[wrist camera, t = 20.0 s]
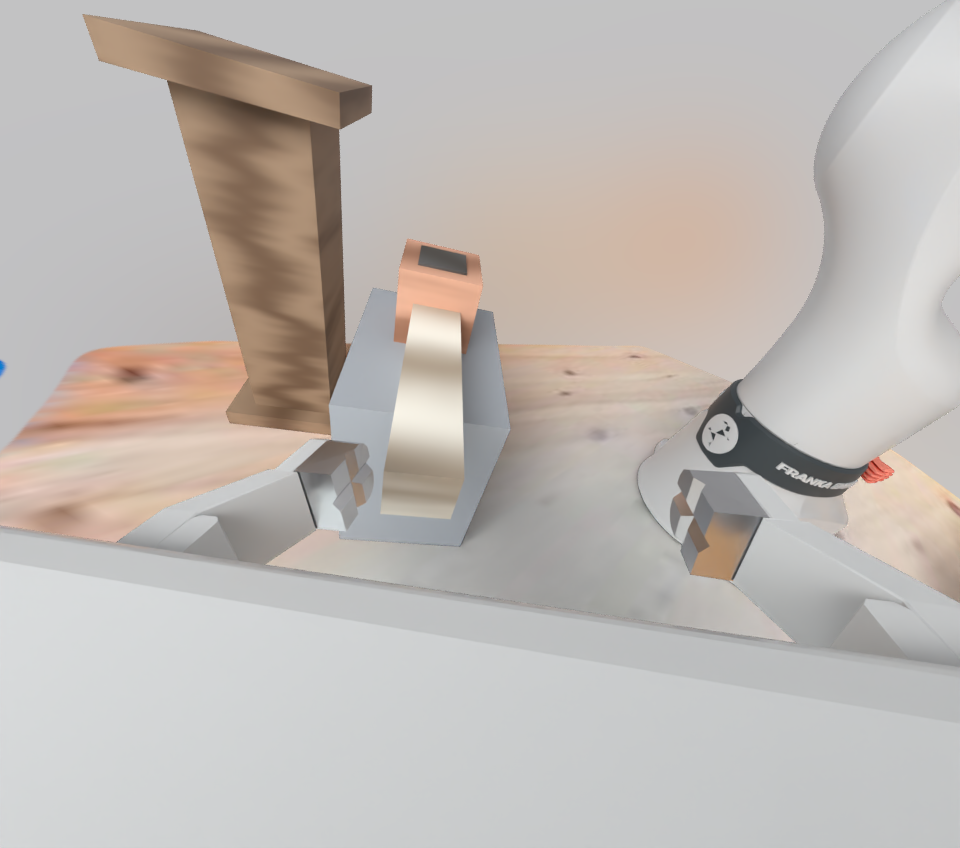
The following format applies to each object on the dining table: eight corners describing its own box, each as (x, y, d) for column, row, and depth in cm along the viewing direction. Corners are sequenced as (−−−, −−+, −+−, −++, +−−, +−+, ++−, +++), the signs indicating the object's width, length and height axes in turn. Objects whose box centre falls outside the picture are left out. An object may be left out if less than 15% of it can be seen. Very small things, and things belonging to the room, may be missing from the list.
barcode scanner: (472, 521, 16) (505, 446, 12) (355, 512, 15) (354, 427, 11) (464, 318, 28) (479, 253, 25) (401, 306, 27) (407, 236, 24)
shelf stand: (366, 377, 43) (371, 85, 25) (349, 437, 36) (339, 92, 18) (268, 361, 41) (197, 30, 23) (229, 422, 34) (82, 14, 16)
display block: (458, 430, 41) (492, 311, 30) (460, 546, 31) (510, 429, 20) (369, 418, 39) (372, 287, 28) (339, 538, 29) (328, 404, 18)
